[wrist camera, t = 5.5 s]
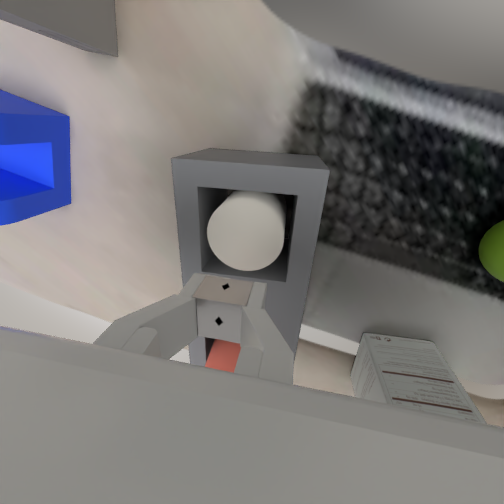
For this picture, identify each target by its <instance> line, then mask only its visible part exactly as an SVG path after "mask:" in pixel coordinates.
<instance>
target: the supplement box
mask: <svg viewBox="0 0 504 504" xmlns="http://www.w3.org/2000/svg"><path fill="white" fill-rule="evenodd" d="M350 377H351V381H352V385H353V390H354V394H355V397H357V398H362V399H366V400H371V401H376V402H381V403H386V404H391V405H396V406H401V407H406V408H411V409H416V410H421V411H426V412H431V413H436V414H441V415H445V416H450V417H455V418H460V419H465V420H470V421H475V422H480V423H485V424H487V423H486V421H485V419H484V418H483V416H482V415H481V413H480V412H479V410H478V409H477V407H476V406H475V404H474V403H473V401H472V400H471V398H470V397H469V395H468V394H467V392H466V391H465V389H464V388H463V386H462V385H461V383H460V382H459V380H458V378H457V377H456V375H455V374H454V372H453V371H452V369H451V368H450V366H449V365H448V363H447V362H446V360H445V359H444V357H443V356H442V354H441V353H440V351H439V350H438V348H437V347H436V345H435V344H434V342H431V341H425V340H418V339H411V338H403V337H396V336H388V335H380V334H372V333H363V336H362V339H361V342H360V345H359V349H358V352H357V355H356V358H355V361H354V365H353V368H352V371H351V375H350Z"/></svg>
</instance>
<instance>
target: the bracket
mask: <svg viewBox="0 0 504 504" xmlns="http://www.w3.org/2000/svg"><path fill="white" fill-rule="evenodd" d="M68 204H71V173H70V123H69V116H67V115H64V114H62V113H59V112H57V111H54V110H52V109H49V108H46V107H44V106H41V105H39V104H36V103H33V102H31V101H28V100H26V99H23V98H21V97H18V96H15V95H13V94H10V93H8V92H5V91H3V90H0V225H6V224H11V223H15V222H18V221H22V220H24V219H27V218H30V217H33V216H36V215H39V214H42V213H45V212H48V211H51V210H54V209H57V208H59V207H62V206H65V205H68Z"/></svg>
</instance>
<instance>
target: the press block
mask: <svg viewBox="0 0 504 504" xmlns="http://www.w3.org/2000/svg"><path fill="white" fill-rule="evenodd" d="M171 163H172V174H173V185H174V196H175V206H176V217H177V228H178V238H179V249H180V260H181V270H182V281H183V288H184V286H185V285H186V283H187V282H188V281H189V279H190V278H191V277H192V275H193V274H194V273H201V274H207V275H214V276H219V277H225V278H231V279H236V280H243V281H251V282H261V283H267V291H266V300H265V310H266V312H267V313H268V315H269V316H270V318H271V320H272V321H273V323H274V324H275V326H276V327H277V329H278V330H279V332H280V333H281V335H282V336H283V338H284V339H285V341H286V343H287V344H288V346H289V347H290V349H291V350H292V352H293V353H294V360H295V355H296V349H297V344H298V339H299V333H300V328H301V323H302V317H303V312H304V306H305V301H306V296H307V290H308V285H309V280H310V274H311V269H312V264H313V258H314V253H315V248H316V242H317V237H318V232H319V226H320V221H321V215H322V210H323V205H324V199H325V194H326V189H327V183H328V178H329V173H330V169H329V168H328V167H327V166H326V165H325V163H324V162H323V161H322V160H321V159H320V158H319V156H314V155H299V154H285V153H270V152H255V151H241V150H226V149H212V148H209V149H205V150H201V151H197V152H193V153H189V154H185V155H181V156H178V157H174V158H171ZM227 189H232V190H244V191H256V192H267V193H279V194H290V195H294V199H293V207H292V215H291V223H290V230H289V238H288V239H286V238H284V243H283V247H282V250H281V252H280V254H279V256H278V257H277V258H276V259H275V261H274V262H272V263H271V264H270V265H268V266H266V267H264V268H262V269H259V270H254V271H243V270H238V269H234V268H232V267H230V266H228V265H226V264H225V263H223V262H222V261H221V260H220V259H218V257H217V256H216V255H215V254H214V252H213V251H212V249H211V247H210V245H209V242H208V237H207V227H208V223H209V220H210V218H211V216H212V214H213V213H214V211H215V210H216V209H217V208H218V207H219V206H220V205H221V204H222V203H223V202H224V201H225V200H226V199H227ZM214 340H215V339H214V338H207V337H201V336H197V338H196V339H195V340H193V341H192V342H191V343H189V344H188V345H189V356H190V364H194V365H199V366H204V367H205V364H206V362H207V359H208V356H209V353H210V351H211V348H212V345H213V343H214Z"/></svg>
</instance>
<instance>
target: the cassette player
mask: <svg viewBox="0 0 504 504" xmlns="http://www.w3.org/2000/svg"><path fill="white" fill-rule="evenodd" d="M0 19H1V20H4V21H7V22H9V23H12V24H15V25H17V26H20V27H23V28H26V29H28V30H31V31H34V32H36V33H39V34H42V35H44V36H47V37H50V38H53V39H55V40H58V41H61V42H63V43H66V44H69V45H72V46H74V47H77V48H80V49H82V50H85V51H90V52H96V53H101V54H106V55H112V56H117V57H118V46H117V31H116V16H115V1H114V0H0Z"/></svg>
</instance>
